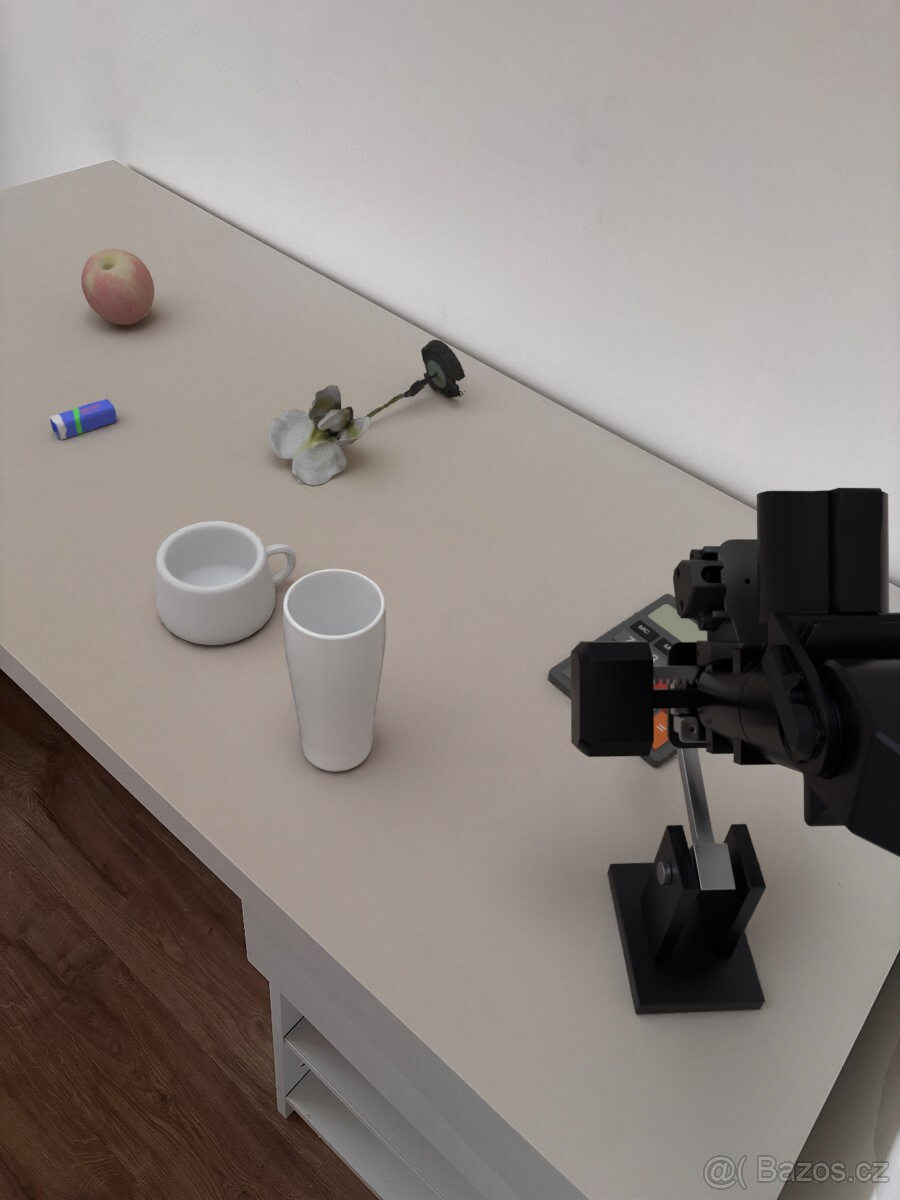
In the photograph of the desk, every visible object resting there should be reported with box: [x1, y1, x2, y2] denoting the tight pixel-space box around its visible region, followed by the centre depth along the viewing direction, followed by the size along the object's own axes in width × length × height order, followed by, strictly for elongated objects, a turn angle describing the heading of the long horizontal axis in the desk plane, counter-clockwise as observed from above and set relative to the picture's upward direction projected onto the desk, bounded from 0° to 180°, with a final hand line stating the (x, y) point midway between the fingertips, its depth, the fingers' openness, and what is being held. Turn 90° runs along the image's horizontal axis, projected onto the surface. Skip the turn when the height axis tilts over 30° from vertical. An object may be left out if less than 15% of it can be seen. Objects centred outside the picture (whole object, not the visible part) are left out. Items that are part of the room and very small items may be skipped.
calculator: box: [547, 593, 707, 768], centre depth 86 cm, size 12×1×15 cm
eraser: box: [49, 398, 117, 440], centre depth 105 cm, size 2×6×2 cm, turn 126°
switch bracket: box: [607, 823, 767, 1015], centre depth 66 cm, size 10×8×10 cm
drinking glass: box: [282, 568, 387, 772], centre depth 74 cm, size 7×7×15 cm
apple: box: [80, 248, 155, 326], centre depth 118 cm, size 8×8×8 cm
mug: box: [155, 520, 297, 646], centre depth 87 cm, size 12×10×6 cm
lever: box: [654, 680, 736, 901], centre depth 67 cm, size 15×3×3 cm, turn 4°
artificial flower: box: [267, 339, 466, 487], centre depth 106 cm, size 9×22×10 cm, turn 131°
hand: (692, 686), depth 67 cm, fingers closed
